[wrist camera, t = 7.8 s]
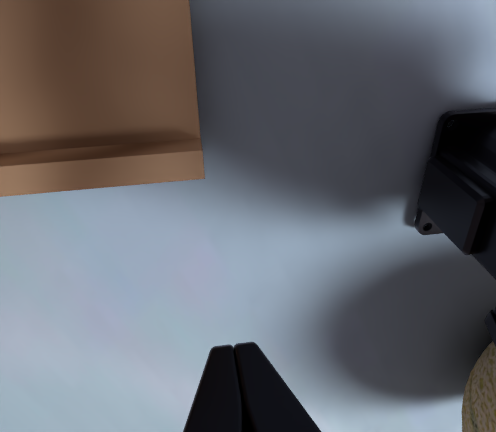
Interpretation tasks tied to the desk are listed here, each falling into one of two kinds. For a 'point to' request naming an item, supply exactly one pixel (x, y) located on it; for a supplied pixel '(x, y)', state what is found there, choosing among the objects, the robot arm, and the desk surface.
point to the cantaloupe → (481, 394)
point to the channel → (96, 95)
